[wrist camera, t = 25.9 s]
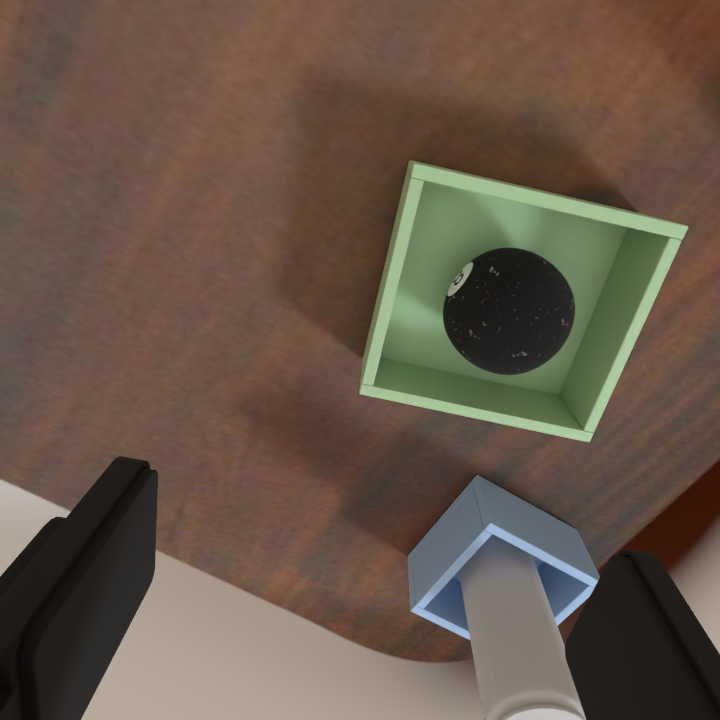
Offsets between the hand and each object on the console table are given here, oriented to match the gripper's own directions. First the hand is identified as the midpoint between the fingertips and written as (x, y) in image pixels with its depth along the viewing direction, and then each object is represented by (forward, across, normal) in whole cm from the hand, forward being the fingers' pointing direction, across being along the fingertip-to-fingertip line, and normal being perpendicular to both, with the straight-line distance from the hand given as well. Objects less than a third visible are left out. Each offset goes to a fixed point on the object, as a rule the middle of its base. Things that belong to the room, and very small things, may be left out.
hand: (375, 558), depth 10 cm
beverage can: (+19, -11, +16) cm, 27 cm away
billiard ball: (+19, -6, -1) cm, 20 cm away
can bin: (+19, -11, +16) cm, 27 cm away
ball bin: (+20, -6, -1) cm, 21 cm away
